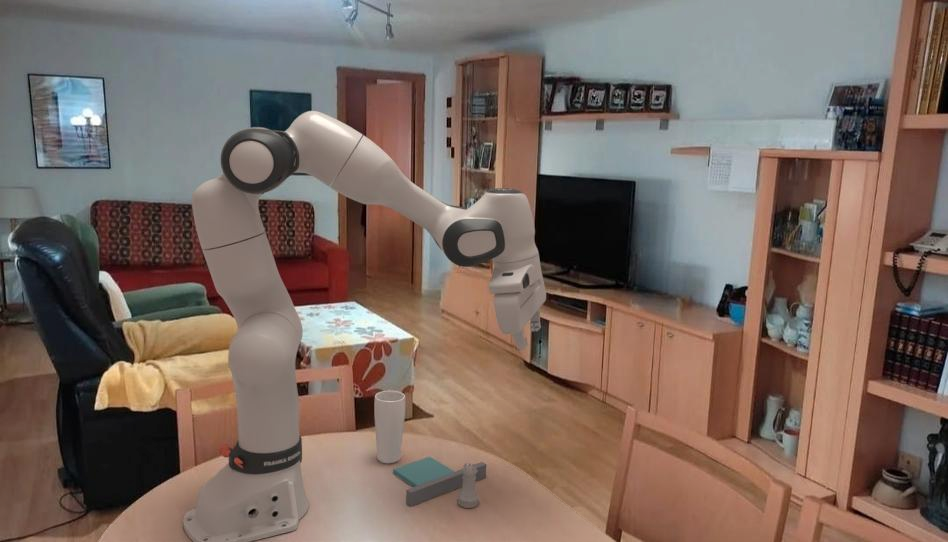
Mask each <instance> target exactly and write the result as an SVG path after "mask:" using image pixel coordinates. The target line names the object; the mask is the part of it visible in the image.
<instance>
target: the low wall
mask: <svg viewBox="0 0 948 542" xmlns="http://www.w3.org/2000/svg"><path fill="white" fill-rule="evenodd" d="M473 464H474V465H475V466H476V469H477V470H478V472H477V473H476V474H475V477H476V480H475V482H477V481H480V480H482V479H485V478H487V466H488V465H487V463H485V462H484V461H479V462H477V463H473ZM461 470H462V468H461V469H457V470H454V471H455V472H453V473H450V474H447V475H445V476H442V477H439V478H436V479H434V480H431V481H428V482H426V483H423V484H420V485H418V486H415V487H412V486H411V487H410V488H407V489H406V490H405V491H406V492H405V504H406V505H407V506H409V507H414V506H416V505H418V504H422V503H423V502H426V501H428V500H429V501H430V500H431V499H434V498H436V497H439V496H441V495H445V494H446V493H449V492H451V491H454V490H457V489H460V488H462V484H463V479H462V476H463V473H462V471H461Z"/></svg>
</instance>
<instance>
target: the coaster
mask: <svg viewBox="0 0 948 542" xmlns="http://www.w3.org/2000/svg"><path fill="white" fill-rule="evenodd" d="M455 471H456V470H453V469H452V468H450V467H449V466H447V465H445V464H443V463H442V462H440V461H439V460H436V459H435V458H434V457H432V456H427V457H424V458H421V459H418V460H415V461H412V462H409V463H406V464H403V465H401V466H397V467H395V468H392V474H393V475H395V476H396V477H397V478H399V479H401V480H402V481H403V482H405V483H406V484H408V485H409V486H411V488H412V487H415V486H418V485H420V484H423V483H426V482H428V481H431V480H434V479H436V478H439V477H442V476H445V475H447V474H450V473H453V472H455Z"/></svg>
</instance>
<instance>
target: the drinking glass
mask: <svg viewBox="0 0 948 542" xmlns="http://www.w3.org/2000/svg"><path fill="white" fill-rule="evenodd" d="M373 405H374V406H373V407H374V409H373V411H374V414H373V415H374V429H375V443H376V444H375V445H376V459H377V460H378V462H380V463H383V464H395V463H397V462H398V461H400V459H401V457H402V444H403V442H402V441H403V436H404V435H403V434H404V426H405V416H406V395H405V393H403V392H401V391H397V390H382V391H379V392H377V393H376V394H375V395H374V404H373Z"/></svg>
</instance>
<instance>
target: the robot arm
mask: <svg viewBox="0 0 948 542" xmlns="http://www.w3.org/2000/svg"><path fill="white" fill-rule="evenodd" d="M220 167H221V171H222V174H220V175H219V176H217V177H214V178H212V179H209V180H206V181H205V182H203V183H201V184H200V185H199V186H197V188H196V189H195V190H194V191H193V193H192V196H191V207H192V213H193V214H192V215H193V221H194V225H195V230H196V233H197V237H198V241H199V244H200V247H201V250H202V252H203V256H204V259H205V261H206V265H207V267H208V268H207V269H208V270H209V273H210V275H211V279H212V282H213V285H214V288H215V290H216V292H217V294H218V295H219V296H220V297H221V298H222V299H223V301H224V302H225V304H226V305H227V308H229V311H230V312H231V314H232V316H233V318H234V321H235V323H236V326H237V330H236V332H235V333H234V335H233V337H232V338H231V341H230V342H229V347H228V354H227V358H228V359H227V360H228V367H229V371H230V372H231V376H232V377H231V378H232V384H233V388H234V392H235V399H236V408H237V435H238V436H237V437H238V439H237V441H236V443H235V445H234V447H233V448H232V447H230V445H228V444H227V443H223V444H221V445H220V447H218V453H219V454H220V455H221V456H222V457H223V458H228V463H226V465H225V466H224V467H223V468H222V469H220V470H219V471H218V472H216V474H215V475H214V476H213V477H212V478H210V480H208V481H207V482H206V483H205V484H203V486H201V488H200V490H199V492H198V494H197V499H196V505H195V508H192V509H191V510H188V511H186V512H185V513H184V515H183V521H182V524H183V525H182V526H183V530H184V532H185V534H186V535H187V537H188V538H189V539H190V540H191V541H192V542H254V541H257V540H261V539H262V540H263V539H266V538H269V537H273V536H277V535H281V534H282V535H283V534H285V533H290V532H294V531H295V530H297V529H298V527H299V523H300V520H301V519H302V518H303V517H304V516H305V515H306V513H307V512H308V510H309V505H310V504H309V500H308V498H307V495H306V494H307V493H306V491H305V487H304V481H303V475H302V467H301V466H302V465H301V464H302V461H303V441H302V440H303V439H302V436H301V434H300V397H299V393H298V392H299V391H298V385H297V376H296V375H297V374H296V361H297V359H296V358H297V355H298V354H297V353H298V351H299V347H300V345H301V342H302V338H303V333H304V332H303V324H302V321H301V317H300V315H299V314H298V312H297V309H296V307H295V305H294V303H293V300H292V298H291V296H290V293H289V292H288V290H287V287H286V286H285V284H284V281H283V279H282V278H281V274H280V273H279V270H278V267H277V264H276V261H275V257H274V255H273V253H272V252H273V251H272V248H271V245H270V243H269V240H268V236H267V233H266V229H265V227H264V224H263V221H262V218H261V214H260V209H259V201H260V198H261V196H262V195H264V194H266V193H268V192H272V191H274V190H276V189H277V188H279V187H280V186H282V185H283V184H284V182H286V181H287V179H288V178H289V177H290V176H292V175H293V174H294V173H304V174H307V175H309V176H311V177H313V178H315V179H316V180H318V181H320V182H321V183H323V184H324V185H325V186H328V187H329V188H330V189H332V190H333V191H335V192H337V193H338V194H341V195H342V196H344V197H346V198H349V199H351V200H352V201H355V202H358V203H360V204H362V205H375V206H376V205H378V206H383V207H387V208H390V209H392V210H394V211H396V212H398V213H400V215H403V216H404V217H406V218H407V219H408V220H411V222H414V223H415V224H417V225H418V226H420V227H421V228H424V229H425V231H427V233H429V235H430V236H431V237H432V239H433V241H434V242H435V244H436V245H437V246H438V248H439V249H440V250H441V251H442V252H443V253H444V255H445V257H446V258H447V259H448V260H449V261H450V262H451V263H452V264H454V265H457V266H459V267H463V268H464V267H465V268H470V267H474V266H477V265H480V264H482V263H485V262H488V261H490V260H492V264H493V268H492V274H491V278H490V280H489V282H488V291H489V294H491V295H493V306H494V307H493V308H494V312H495V315H496V317H495V318H496V320H497V324H498V328H499V330H500V332H501V333H502V334H504V335H511V336H512V338H513V340H514V341H515V346H516V349H517V350H525V349H526V348H527V347H528V339H527V337H525V334H524V332H525V330H524V328H525V327H526V325H527V324H528V323H529V327H530V331H531V332H538V331H539V330H540V329H541V327H542V326H541V307H542V306H543V305H544V303H545V302H546V301H547V291H546V285H545V281H544V277H543V276H544V275H543V272H542V267H541V260H540V253H539V250H538V247H537V245H536V242H535V235H536V228H535V223H534V218H533V214H532V209H531V206H530V205H531V204H530V202H529V199H528V197H527V196H526V194H525V193H524V192H522V191H520V190H519V189H516V188H508V187H507V188H505V187H504V188H503V187H502V188H501V187H500V188H498V187H497V188H492V189H488V190H486V191H485V192H484V193H483V195H482V196H481V198H479V199H477V201H476V202H475V203H473V205H471V206H469V207H463V206H458V205H451V204H447V203H445V202H443V201H441V200H440V199H438V198H436V197H435V196H434V195H432V194H430V193H428V192H427V191H425V190H424V189H423V188H422V187H419V186H418V185H416V183H414V182H412V181H411V180H410V179H409V178H408V177H407V175H405V174H404V173H403V172H402V171H401V170H400V168H399V166H398V165H397V163H396V162H395V161H394V160H393V159H392V158H391V157H390V155H389V154H388V153H386V151H384V150H383V149H382V148H381V147H380V146H379V145H377V144H376V143H375V142H374V141H372V140H371V139H369V137H367V136H366V135H364V134H363V133H361V132H359V131H357V130H356V129H354V128H353V127H352V126H350V125H348V124H346V123H344V122H342V121H340V120H339V119H336V118H335V117H333V116H330V115H328V114H326V113H323V112H320V111H318V110H317V111H316V110H308V111H305V112H303V113H301V114H300V115H298V117H296V118H295V119H294V120H293V122H292V123H290V126H289V127H288V128H287V129H286V130H277V129H269V128H266V127H261V126H253V127H247V128H245V129H241V130H240V131H237V132H236V133H234V134H232V135H231V136H230V137H229V138H228V139H227V140H226V142H225V143H224V145H223V147H222V149H221V154H220ZM424 229H423V230H424Z"/></svg>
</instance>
